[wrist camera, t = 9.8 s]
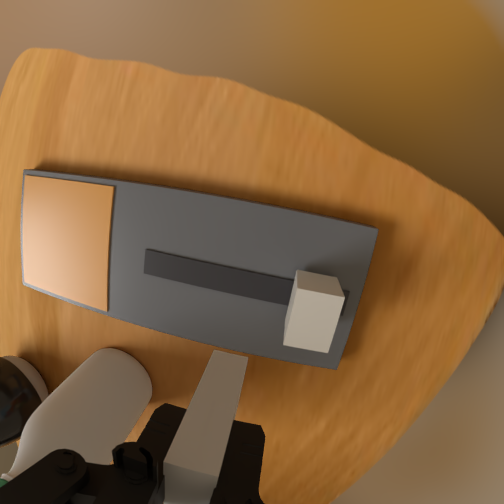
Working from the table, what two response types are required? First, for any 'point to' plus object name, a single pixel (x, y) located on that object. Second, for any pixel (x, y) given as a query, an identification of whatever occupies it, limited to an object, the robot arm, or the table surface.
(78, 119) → the table surface
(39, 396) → the pump dispenser
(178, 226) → the board
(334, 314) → the handle
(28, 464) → the milk bottle
